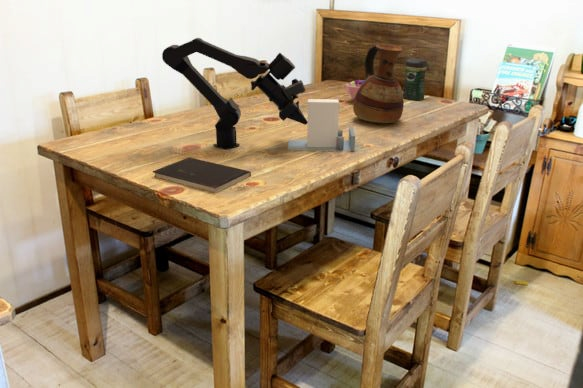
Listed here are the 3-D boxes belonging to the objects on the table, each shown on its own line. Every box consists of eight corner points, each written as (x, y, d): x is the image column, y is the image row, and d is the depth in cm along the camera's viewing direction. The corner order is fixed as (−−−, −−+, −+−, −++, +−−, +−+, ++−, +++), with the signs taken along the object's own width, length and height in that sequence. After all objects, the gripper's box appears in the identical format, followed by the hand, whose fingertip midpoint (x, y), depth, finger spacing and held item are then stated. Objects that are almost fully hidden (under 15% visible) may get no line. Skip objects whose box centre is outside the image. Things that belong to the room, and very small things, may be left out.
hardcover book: (215, 195, 146) (215, 187, 145) (153, 178, 157) (152, 171, 157) (251, 177, 159) (250, 170, 158) (191, 163, 170) (190, 156, 169)
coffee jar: (426, 99, 259) (430, 58, 252) (417, 101, 253) (421, 60, 247) (409, 95, 265) (412, 56, 258) (399, 98, 260) (403, 58, 253)
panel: (307, 146, 182) (308, 102, 177) (307, 142, 186) (308, 99, 181) (337, 147, 182) (339, 102, 177) (336, 143, 186) (338, 99, 181)
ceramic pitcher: (379, 130, 207) (385, 48, 196) (341, 119, 221) (345, 42, 210) (412, 122, 218) (419, 44, 207) (375, 112, 233) (379, 39, 221)
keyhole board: (287, 152, 179) (287, 134, 177) (289, 142, 191) (289, 125, 188) (355, 154, 179) (356, 136, 177) (352, 143, 190) (353, 126, 188)
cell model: (338, 99, 257) (340, 74, 253) (377, 96, 262) (379, 73, 258) (353, 107, 242) (354, 81, 238) (394, 104, 247) (396, 79, 243)
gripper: (289, 77, 167) (325, 113, 171) (291, 67, 184) (323, 100, 188) (264, 102, 170) (299, 137, 174) (268, 90, 187) (300, 122, 191)
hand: (306, 123), depth 182 cm, fingers closed, pressing on panel
